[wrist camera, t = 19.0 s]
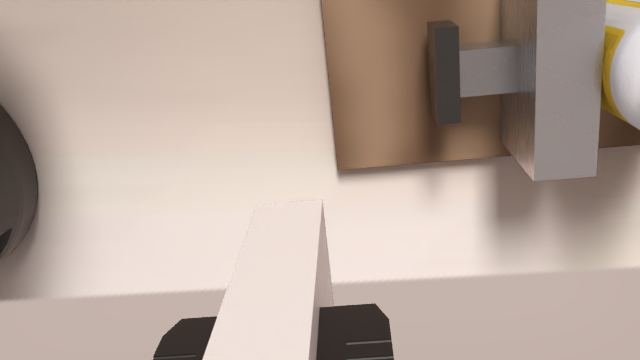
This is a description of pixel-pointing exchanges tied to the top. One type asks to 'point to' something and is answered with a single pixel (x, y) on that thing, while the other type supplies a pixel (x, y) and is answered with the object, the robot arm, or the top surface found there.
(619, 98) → the pill bottle
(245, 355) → the robot arm
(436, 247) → the top surface
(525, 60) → the sliding jaw
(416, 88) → the vise bed
